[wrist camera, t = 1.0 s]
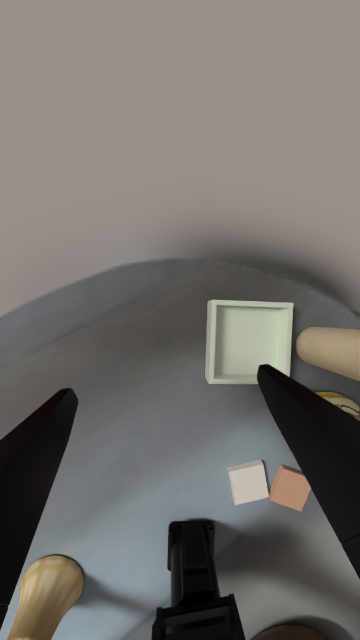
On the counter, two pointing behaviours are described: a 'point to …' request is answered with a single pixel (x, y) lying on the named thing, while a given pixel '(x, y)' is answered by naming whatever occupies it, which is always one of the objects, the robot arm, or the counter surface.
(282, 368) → the tray
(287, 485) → the tile terracotta
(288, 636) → the plant saucer
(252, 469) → the tile white
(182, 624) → the robot arm
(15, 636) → the hand bell
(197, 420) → the counter surface
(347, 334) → the candle
